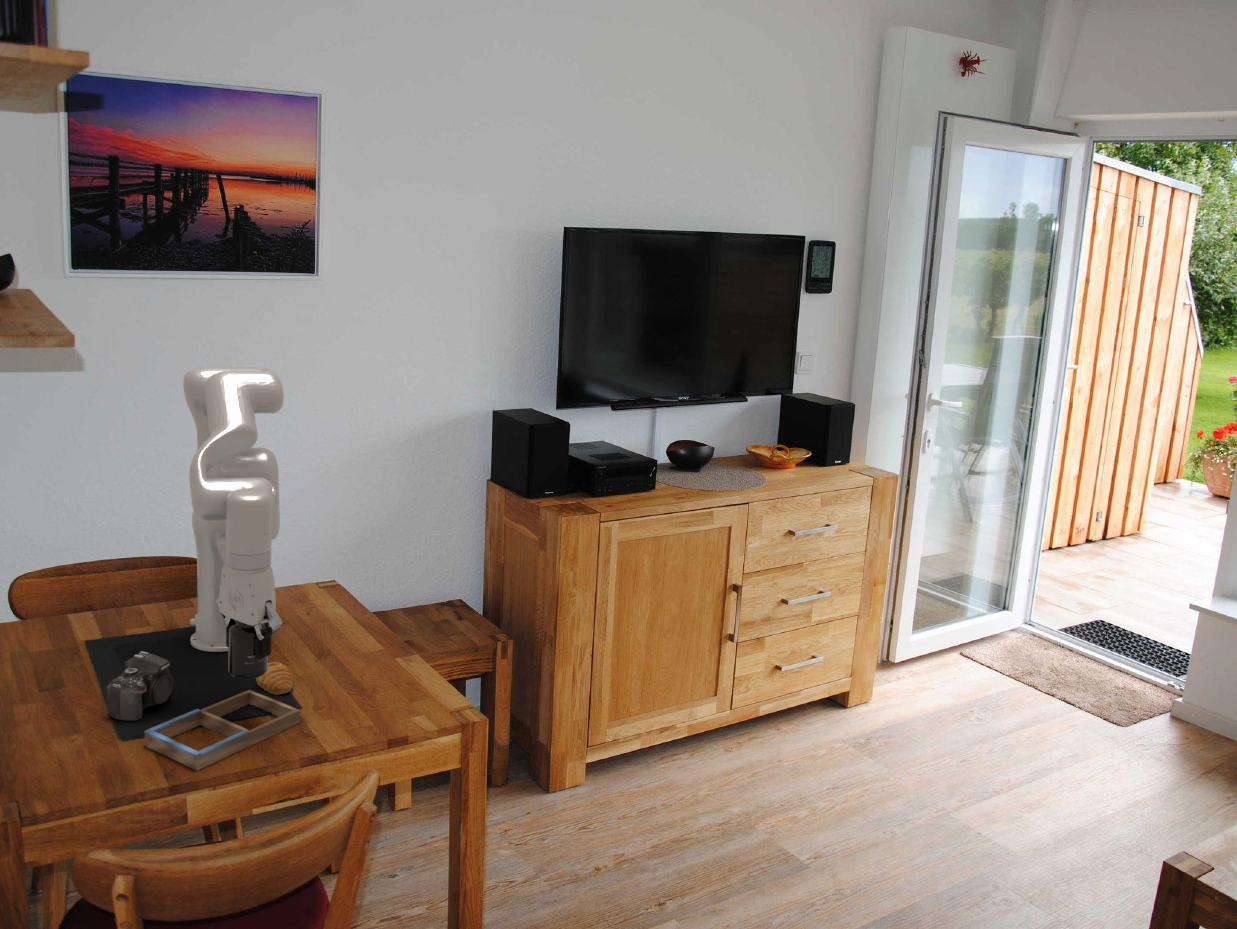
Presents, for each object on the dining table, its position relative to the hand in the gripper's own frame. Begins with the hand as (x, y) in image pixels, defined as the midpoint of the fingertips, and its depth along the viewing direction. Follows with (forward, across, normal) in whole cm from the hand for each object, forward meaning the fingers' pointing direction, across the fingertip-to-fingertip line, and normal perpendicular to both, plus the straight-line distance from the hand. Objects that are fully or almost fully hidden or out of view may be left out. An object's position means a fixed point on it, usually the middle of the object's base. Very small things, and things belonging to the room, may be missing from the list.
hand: (248, 650), depth 189 cm
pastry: (+15, -8, +14) cm, 22 cm away
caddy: (+14, +1, -6) cm, 15 cm away
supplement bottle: (+5, 0, 0) cm, 5 cm away
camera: (+15, -19, -8) cm, 25 cm away
